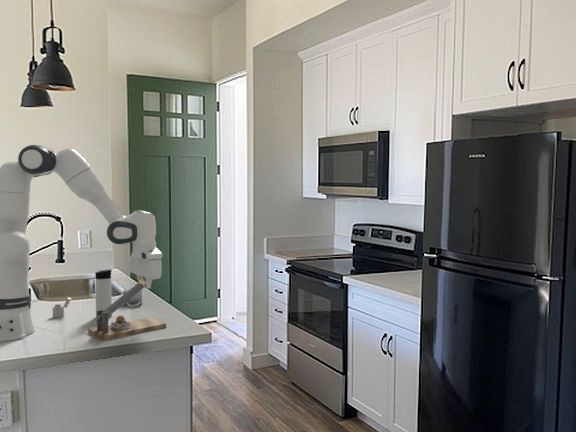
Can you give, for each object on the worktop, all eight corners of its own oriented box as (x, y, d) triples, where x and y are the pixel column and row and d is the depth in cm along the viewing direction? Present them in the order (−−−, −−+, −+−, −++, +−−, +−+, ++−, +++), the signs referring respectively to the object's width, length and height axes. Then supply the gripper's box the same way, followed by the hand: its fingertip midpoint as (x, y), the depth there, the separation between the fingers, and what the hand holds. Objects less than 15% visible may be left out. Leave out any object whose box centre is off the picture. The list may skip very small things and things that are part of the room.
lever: (104, 324, 193) (98, 316, 191) (99, 322, 196) (93, 314, 194) (153, 284, 205) (148, 276, 203) (148, 282, 208) (143, 274, 206)
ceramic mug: (123, 302, 244) (122, 286, 243) (141, 301, 247) (141, 285, 246) (124, 308, 234) (124, 291, 234) (143, 307, 237) (143, 290, 237)
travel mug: (107, 319, 216) (106, 271, 214) (93, 318, 217) (92, 270, 216) (115, 315, 222) (114, 268, 220) (101, 314, 223) (100, 268, 222)
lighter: (52, 317, 218) (52, 298, 217) (53, 316, 219) (52, 298, 219) (71, 316, 220) (70, 297, 219) (71, 315, 222) (71, 296, 221)
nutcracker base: (101, 340, 188) (101, 316, 187) (88, 333, 197) (87, 309, 196) (166, 327, 206) (165, 304, 205) (151, 320, 214) (151, 299, 214)
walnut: (118, 325, 197) (118, 317, 197) (114, 323, 199) (114, 315, 199) (126, 324, 199) (126, 315, 199) (122, 322, 201) (122, 314, 201)
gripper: (124, 249, 209) (125, 284, 210) (149, 255, 194) (149, 292, 195) (139, 248, 214) (139, 282, 215) (164, 254, 199) (164, 290, 200)
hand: (144, 287), depth 205 cm, fingers closed on lever, 4 cm apart
